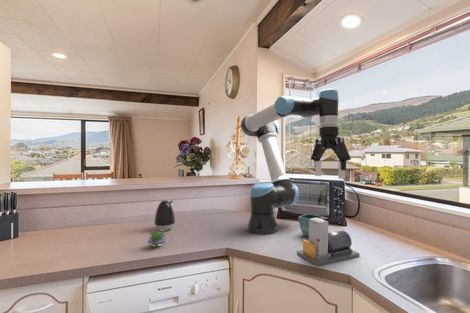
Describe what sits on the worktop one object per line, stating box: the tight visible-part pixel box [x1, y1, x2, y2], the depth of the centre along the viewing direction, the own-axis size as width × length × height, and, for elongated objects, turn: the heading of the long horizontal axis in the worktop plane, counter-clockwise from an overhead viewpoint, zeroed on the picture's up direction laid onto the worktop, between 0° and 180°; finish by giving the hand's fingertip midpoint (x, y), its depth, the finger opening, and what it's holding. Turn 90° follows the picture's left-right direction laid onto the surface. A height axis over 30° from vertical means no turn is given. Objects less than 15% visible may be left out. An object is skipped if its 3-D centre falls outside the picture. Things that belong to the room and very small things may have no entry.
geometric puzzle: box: [147, 229, 166, 248], centre depth 103 cm, size 7×7×8 cm
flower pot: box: [298, 213, 325, 237], centre depth 116 cm, size 9×9×9 cm
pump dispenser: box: [154, 200, 176, 231], centre depth 128 cm, size 10×10×15 cm
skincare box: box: [308, 218, 329, 255], centre depth 91 cm, size 6×4×12 cm
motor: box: [296, 230, 360, 267], centre depth 93 cm, size 11×20×8 cm, turn 112°
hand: (329, 177), depth 104 cm, fingers open, 13 cm apart
